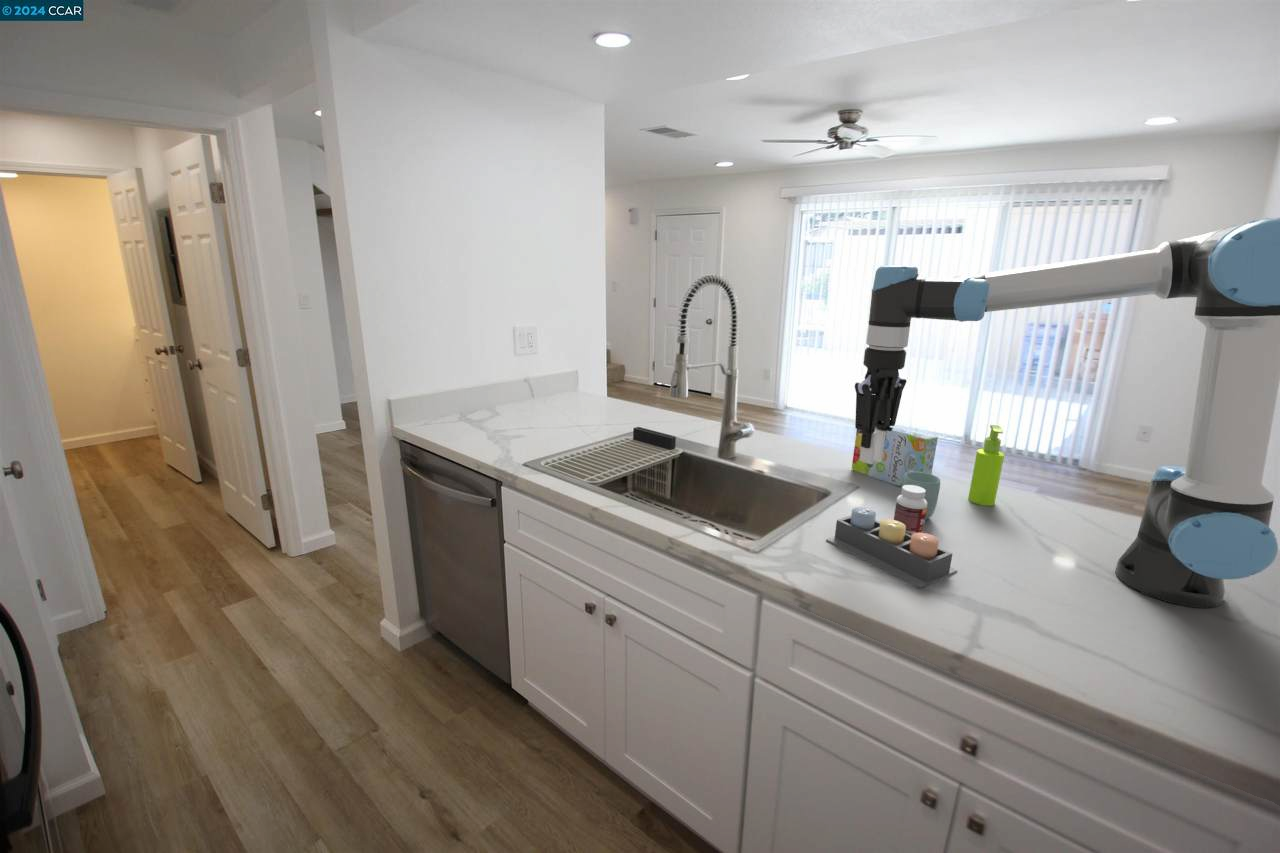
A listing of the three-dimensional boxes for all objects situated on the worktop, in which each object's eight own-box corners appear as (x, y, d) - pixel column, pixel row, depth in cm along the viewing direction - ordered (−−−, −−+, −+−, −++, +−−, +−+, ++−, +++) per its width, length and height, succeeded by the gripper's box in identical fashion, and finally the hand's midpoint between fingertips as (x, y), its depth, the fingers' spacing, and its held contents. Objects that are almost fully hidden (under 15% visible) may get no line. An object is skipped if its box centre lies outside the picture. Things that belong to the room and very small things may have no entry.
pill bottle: (924, 543, 124) (932, 495, 121) (893, 538, 126) (900, 492, 123) (919, 531, 130) (927, 485, 127) (890, 527, 131) (896, 482, 128)
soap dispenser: (970, 504, 145) (984, 428, 139) (966, 495, 151) (980, 421, 145) (997, 508, 142) (1012, 431, 137) (992, 498, 149) (1007, 424, 143)
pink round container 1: (940, 561, 111) (944, 539, 110) (925, 567, 109) (929, 545, 107) (917, 551, 115) (921, 529, 114) (902, 557, 113) (906, 535, 111)
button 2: (907, 546, 117) (911, 525, 116) (892, 552, 114) (896, 530, 113) (887, 537, 121) (890, 516, 119) (872, 542, 118) (875, 521, 117)
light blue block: (878, 533, 123) (880, 512, 121) (863, 538, 120) (866, 517, 119) (859, 524, 126) (861, 504, 125) (844, 529, 124) (847, 509, 123)
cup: (938, 524, 133) (945, 484, 130) (902, 521, 134) (908, 481, 132) (929, 511, 140) (935, 472, 138) (895, 508, 142) (900, 470, 139)
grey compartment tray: (957, 572, 112) (960, 551, 111) (920, 588, 106) (923, 566, 105) (862, 528, 130) (864, 510, 129) (826, 540, 124) (828, 521, 123)
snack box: (930, 489, 154) (939, 436, 150) (918, 494, 151) (927, 439, 147) (861, 466, 171) (868, 418, 167) (849, 470, 168) (856, 420, 164)
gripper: (893, 342, 119) (878, 450, 126) (844, 347, 112) (831, 461, 118) (926, 347, 113) (909, 460, 120) (877, 352, 106) (861, 472, 112)
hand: (870, 460), depth 119 cm, fingers open, 2 cm apart
